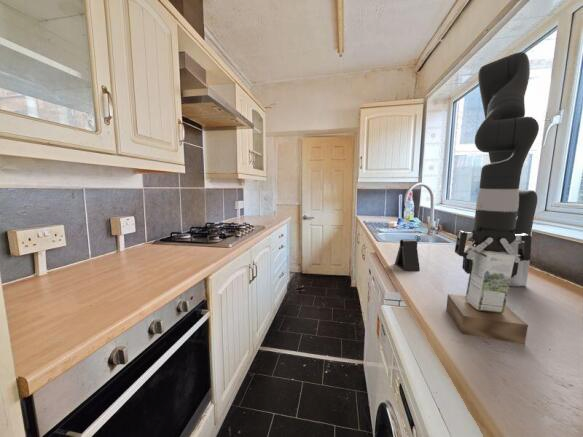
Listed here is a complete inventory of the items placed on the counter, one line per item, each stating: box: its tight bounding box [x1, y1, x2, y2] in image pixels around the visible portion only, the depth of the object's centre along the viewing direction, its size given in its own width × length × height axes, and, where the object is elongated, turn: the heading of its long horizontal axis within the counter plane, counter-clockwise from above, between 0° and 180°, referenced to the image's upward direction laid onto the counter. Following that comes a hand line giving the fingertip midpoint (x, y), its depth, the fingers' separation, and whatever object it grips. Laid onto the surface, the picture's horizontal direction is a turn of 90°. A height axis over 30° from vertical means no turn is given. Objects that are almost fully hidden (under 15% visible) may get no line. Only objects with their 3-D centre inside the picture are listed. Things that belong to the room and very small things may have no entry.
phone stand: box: [394, 239, 421, 272], centre depth 102 cm, size 9×6×12 cm, turn 4°
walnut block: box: [445, 293, 529, 345], centre depth 61 cm, size 12×12×5 cm
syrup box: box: [465, 250, 515, 313], centre depth 59 cm, size 6×6×14 cm
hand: (488, 274), depth 59 cm, fingers open, 8 cm apart
